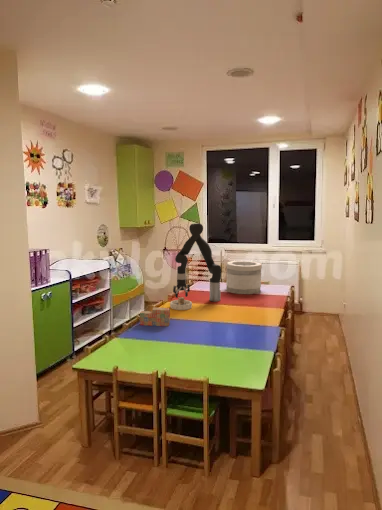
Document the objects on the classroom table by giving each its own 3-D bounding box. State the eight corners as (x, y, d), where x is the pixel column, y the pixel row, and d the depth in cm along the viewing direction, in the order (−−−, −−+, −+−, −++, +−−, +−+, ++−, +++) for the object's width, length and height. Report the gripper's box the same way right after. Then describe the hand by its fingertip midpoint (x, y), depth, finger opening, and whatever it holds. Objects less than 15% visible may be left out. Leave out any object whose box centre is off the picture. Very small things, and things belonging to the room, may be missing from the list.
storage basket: (267, 292, 416) (268, 265, 412) (236, 295, 403) (237, 267, 399) (249, 285, 448) (250, 260, 444) (220, 287, 435) (220, 261, 431)
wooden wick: (182, 305, 360) (182, 297, 359) (184, 306, 356) (184, 298, 356) (178, 305, 359) (178, 297, 358) (179, 306, 355) (179, 298, 354)
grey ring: (186, 303, 369) (186, 299, 369) (194, 308, 353) (195, 304, 352) (167, 305, 363) (167, 300, 362) (174, 310, 346) (174, 305, 346)
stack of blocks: (139, 325, 307) (139, 309, 305) (141, 322, 313) (141, 306, 312) (168, 326, 305) (168, 310, 304) (169, 323, 312) (170, 307, 310)
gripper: (187, 276, 360) (187, 295, 363) (171, 278, 355) (172, 296, 357) (190, 278, 353) (190, 297, 356) (175, 279, 348) (175, 299, 350)
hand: (181, 297), depth 356 cm, fingers open, 8 cm apart
